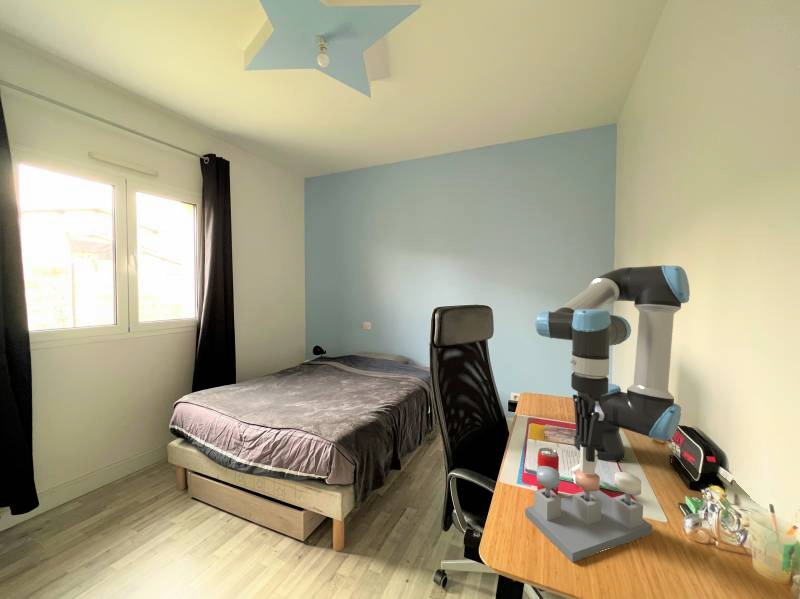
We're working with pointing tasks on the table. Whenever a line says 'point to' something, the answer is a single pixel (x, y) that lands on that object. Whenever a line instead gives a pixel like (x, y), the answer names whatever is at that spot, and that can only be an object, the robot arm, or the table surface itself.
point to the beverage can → (548, 463)
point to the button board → (587, 522)
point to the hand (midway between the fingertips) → (587, 471)
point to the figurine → (579, 466)
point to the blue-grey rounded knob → (548, 478)
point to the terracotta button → (587, 483)
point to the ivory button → (628, 485)
